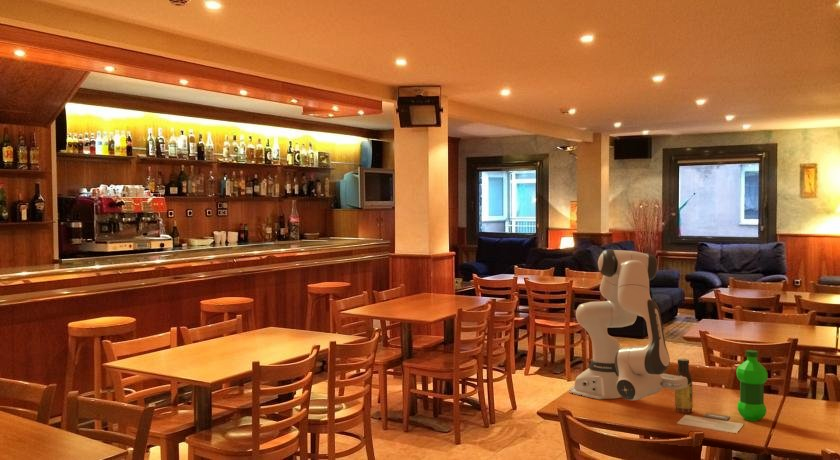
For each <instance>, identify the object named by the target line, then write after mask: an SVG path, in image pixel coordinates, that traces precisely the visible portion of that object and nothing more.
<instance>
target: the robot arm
mask: <svg viewBox="0 0 840 460" xmlns="http://www.w3.org/2000/svg"><path fill="white" fill-rule="evenodd" d="M597 267H598V271H599V273H600V274H601V275H602V278H601V280H600V281H601V282H600V285H599V291H600V294H601V296H602V297H603V298H604V299H605V300H603V301H600V300H599V301H589V302H584V303H580V304H578V306H577V308H576V309H575V310H576V311H575V319H576V321H577V323H578V325H579V326H580V327H581V328H583V329H584V330H585V331H586V332H587V334H588V336H589V337H590V340H591V347H592V358H591V359H590V360H588V362H586V365H587V366H588V368H587V369H585V370H584V371H582V372H581V373H580V374H578V375H577V376H576V378H575V380H574V384H573V386H571V387H570V388H569V390H571V391H569V390H568V392H570V393H569V394H572V393H573V395H578V396H581V395H582V396H583V397H587V398H591V399H595V400H605V399H606V400H607V399H619V398H624V399H625V400H627V401H637V400H641V399H644V398H646V397H651V396H652V395H653V396H654V395H655V394H658V393H660V392H661V391H662V389H669V390H674V391H675V390H678V389H683V388H687V386H688V380H687V378H686V377H683V376H681V375H677V376H676V374H675V375H674V374H668V373H665V372H666V371H667V370H668V368H669V366H670V363H671V360H670V358H671V357H670V354H669V352H668V349H667V345H666V339H665V334H664V328H663V323H662V317H661V312H660V309H659V306H658V304H657V302H656V301H654V300H653V299H652V298H651V294H650V281H652V280H653V279H654V278H655V277H657V273H658V269H659V264H658V259H657V258H656V256H655V255H653V254H650V253H647V252H646V253H645V252H640V251H635V250H624V249H623V250H621V249H613V248H611V249H604V250H602V252H600V255H599V257H598V261H597ZM638 317H642V318H643V319H644V320H645V324H646V329H647V335H648V343H647V344H646V345H639V346H635V345H633V346H624V347H623V346H622V347H621V343H620V342H619V340H618V339H617V338H616V337H614V336H612V335H610V334H609V333H608V328H609V329H610V328H624V327H628V326H633V324H635V322H636V320H637V318H638Z"/></svg>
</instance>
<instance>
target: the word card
mask: <svg viewBox="0 0 840 460" xmlns="http://www.w3.org/2000/svg"><path fill="white" fill-rule="evenodd" d="M703 418H709V419H716V420H722V421H729V419H730V415H725V414H716V413H711V412H706V413H705V414H704V415H703Z"/></svg>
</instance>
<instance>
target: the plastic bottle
mask: <svg viewBox="0 0 840 460" xmlns="http://www.w3.org/2000/svg"><path fill="white" fill-rule="evenodd" d="M745 356H746V360H745V361H743V362H742V363H740V364H739V365H738V366H737V367H736V373H735V374H736V377H737V380H739V401H738V402H737V406H736V408H737V411H738V414H739V415H740V417H742V419H743V418H744V420H746V421H749V420H750V421H751V422H758V420H759V421H760V420H761V419H763V418H764V417H765V416H766V415H767V407H766V405H765V402H764V399H765V398H764V395H765V394H764V392H765V390H764V389H765V385H764V384H765V383H767V381H768V376H769V375H768V374H769V373H768V371H767V368H765V366H764V365H762V364H761V363H760V362H759V360H758V358H759V351H758V350H754V349H746V350H745ZM757 360H758V361H757Z"/></svg>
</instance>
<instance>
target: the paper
mask: <svg viewBox="0 0 840 460" xmlns="http://www.w3.org/2000/svg"><path fill="white" fill-rule="evenodd" d="M676 425H680V426H687V427H693V428H699V429H703V430H704V429H706V430H710V431H711V430H712V431H717V432H723V433H728V432H729V433H728V434H734V433H736V434H735V435H737V434H738V433H739V432H740V430H742V428H743V427H744V425H745V424H744V423H740V422H733V421H729V420H727V421H724V420H718V419H712V418H706V417H704V416H703V417H702V416H698V415H697V416H696V415H690V414H684V416H683V417H682V418H680V419H679V421H677V422H676ZM738 431H739V432H738Z"/></svg>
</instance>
